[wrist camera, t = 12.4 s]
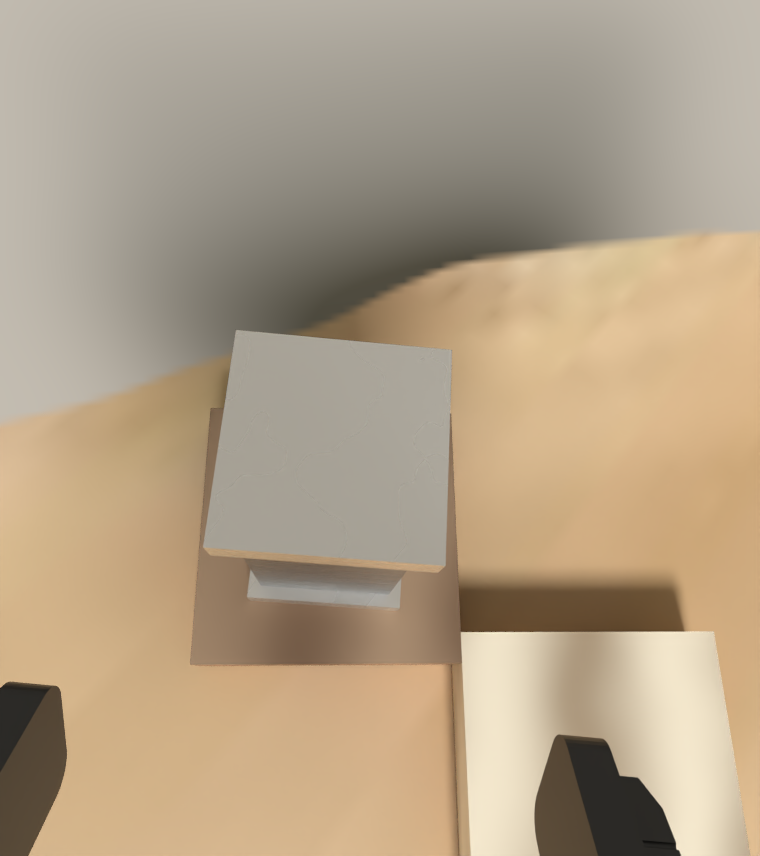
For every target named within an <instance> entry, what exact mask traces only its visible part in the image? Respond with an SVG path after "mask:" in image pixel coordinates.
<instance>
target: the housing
mask: <svg viewBox="0 0 760 856" xmlns="http://www.w3.org/2000/svg"><path fill="white" fill-rule="evenodd" d="M451 367H452V350H446V349H436V348H425V347H414V346H403V345H393V344H382V343H371V342H360V341H350V340H339V339H328V338H318V337H307V336H296V335H285V334H274V333H264V332H253V331H242V330H236V333H235V339H234V346H233V352H232V359H231V365H230V372H229V379H228V385H227V392H226V399H225V405H224V412H223V418H222V425H221V432H220V438H219V445H218V451H217V458H216V465H215V471H214V478H213V485H212V491H211V498H210V504H209V511H208V518H207V524H206V531H205V537H204V544H203V548H204V549H205V550H206V551H207V552H208V554H209V555H210V556H222V557H235V558H244V560H245V561H246V563H247V564H248V566H249V568H250V577H249V585H248V593H247V598H248V599H249V600H251V601H265V602H279V603H293V604H306V605H320V606H334V607H348V608H361V609H375V610H389V611H397V610H398V609H399V608H400V592H401V578H402V577H403V576H404V574H405V573H406V572H407V571H419V572H432V573H438V572H439V571H441V570H442V569H443V568H444V567H445V566H446V533H447V500H448V467H449V434H450V401H451Z"/></svg>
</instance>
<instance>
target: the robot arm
mask: <svg viewBox="0 0 760 856" xmlns="http://www.w3.org/2000/svg"><path fill="white" fill-rule="evenodd" d="M66 759H67V749H66V739H65V729H64V719H63V709H62V700H61V692H60V689H59V688H58V687H57V686H50V685H40V684H29V683H18V682H7V683H6V684H4V685H3V686H2V687H1V688H0V856H28V855H29V853H30V851H31V849H32V847H33V845H34V843H35V840H36V838H37V836H38V834H39V832H40V830H41V828H42V826H43V824H44V822H45V820H46V817H47V815H48V813H49V811H50V809H51V807H52V805H53V803H54V801H55V799H56V796H57V794H58V792H59V789H60V786H61V783H62V780H63V776H64V772H65V767H66ZM534 823H535V834H536V840H537V845H538V850H539V855H540V856H681V854H680V851H679V850H677V849H676V841H675V839H674V836H673V833H672V831H671V828H670V826H669V823H668V821H667V818H666V816H665V813H664V811H663V808H662V807H661V806H660V804H659V803H658V802H657V801H656V799H655V798H654V797H653V796H652V794H651V793H650V792H649V791H648V789H647V788H646V787H645V785H644V784H643V783H642V782H641V780H640V779H639V778H638V777H627V776H620V775H619V772H618V769H617V766H616V763H615V761H614V758H613V755H612V752H611V749H610V747H609V745H608V743H607V742H606V741H605V740H604V739H602V738H593V737H582V736H571V735H560V734H559V735H557V736H556V737H555V738H554V741H553V744H552V747H551V750H550V753H549V756H548V760H547V763H546V766H545V769H544V773H543V776H542V779H541V782H540V786H539V789H538V792H537V796H536V801H535V811H534Z"/></svg>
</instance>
